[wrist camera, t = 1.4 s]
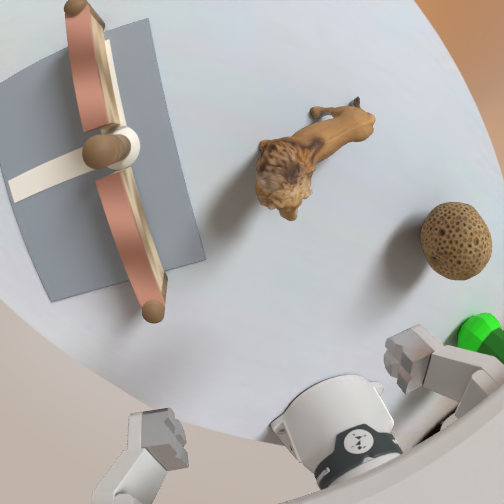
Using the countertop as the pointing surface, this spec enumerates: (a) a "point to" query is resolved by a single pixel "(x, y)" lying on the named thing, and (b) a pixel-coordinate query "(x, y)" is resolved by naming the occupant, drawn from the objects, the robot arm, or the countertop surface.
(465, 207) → the natural sponge
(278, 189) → the lion figurine
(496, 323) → the plastic bottle
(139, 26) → the board
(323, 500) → the robot arm
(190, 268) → the countertop surface
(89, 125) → the fence section
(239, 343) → the countertop surface
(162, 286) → the fence panel
